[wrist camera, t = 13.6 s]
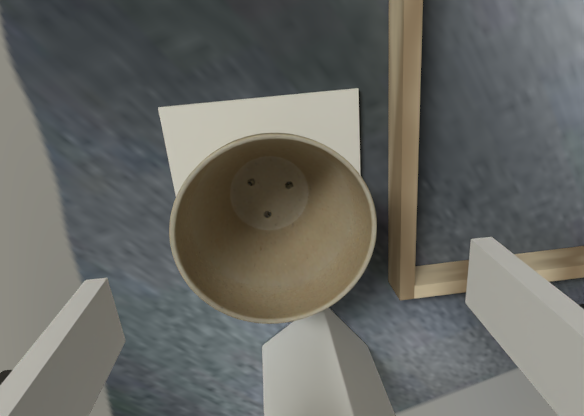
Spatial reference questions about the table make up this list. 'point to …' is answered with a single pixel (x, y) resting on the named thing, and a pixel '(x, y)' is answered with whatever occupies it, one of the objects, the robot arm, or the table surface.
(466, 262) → the wooden frame
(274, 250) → the flower pot
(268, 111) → the mat
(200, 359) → the table surface
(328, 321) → the milk
